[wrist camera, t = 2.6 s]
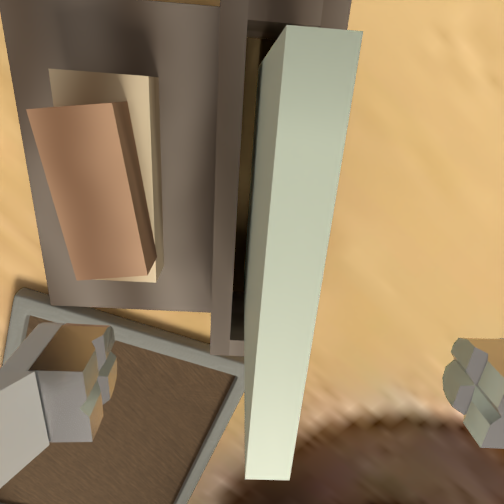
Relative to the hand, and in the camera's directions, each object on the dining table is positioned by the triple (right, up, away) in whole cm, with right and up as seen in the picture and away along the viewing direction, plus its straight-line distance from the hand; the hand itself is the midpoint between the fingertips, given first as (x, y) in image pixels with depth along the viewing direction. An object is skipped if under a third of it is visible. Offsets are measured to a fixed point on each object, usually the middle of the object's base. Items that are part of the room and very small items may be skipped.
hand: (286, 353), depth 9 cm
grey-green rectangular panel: (0, +7, +16) cm, 18 cm away
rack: (-6, +7, +16) cm, 19 cm away
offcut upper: (-9, +6, +12) cm, 16 cm away
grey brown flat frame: (-15, -16, +27) cm, 35 cm away
